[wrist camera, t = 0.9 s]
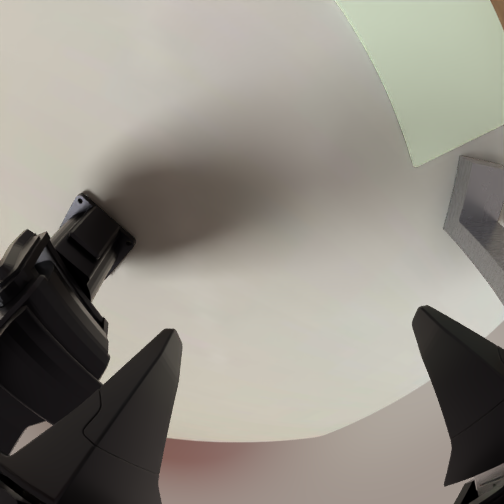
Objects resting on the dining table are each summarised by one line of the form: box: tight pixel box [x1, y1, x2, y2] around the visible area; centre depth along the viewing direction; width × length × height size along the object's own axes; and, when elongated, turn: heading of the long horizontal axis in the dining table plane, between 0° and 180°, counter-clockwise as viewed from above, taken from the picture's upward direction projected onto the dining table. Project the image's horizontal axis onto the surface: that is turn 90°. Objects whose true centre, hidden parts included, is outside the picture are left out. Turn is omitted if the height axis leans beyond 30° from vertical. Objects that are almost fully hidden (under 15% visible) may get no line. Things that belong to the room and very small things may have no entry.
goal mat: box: [335, 0, 504, 168], centre depth 10 cm, size 16×16×1 cm
